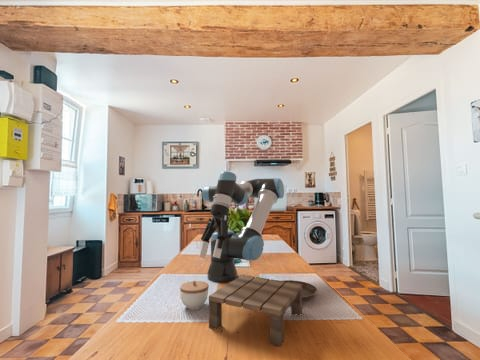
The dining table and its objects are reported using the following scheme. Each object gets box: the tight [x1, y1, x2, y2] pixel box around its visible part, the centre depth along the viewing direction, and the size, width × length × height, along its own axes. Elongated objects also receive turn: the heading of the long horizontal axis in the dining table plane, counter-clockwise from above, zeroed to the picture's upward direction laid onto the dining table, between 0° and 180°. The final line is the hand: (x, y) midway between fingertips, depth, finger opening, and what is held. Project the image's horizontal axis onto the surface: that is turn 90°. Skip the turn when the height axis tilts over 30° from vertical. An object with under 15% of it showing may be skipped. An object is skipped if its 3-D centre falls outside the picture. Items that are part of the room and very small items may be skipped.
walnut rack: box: [208, 274, 303, 347], centre depth 92 cm, size 24×24×10 cm
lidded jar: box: [179, 280, 209, 310], centre depth 103 cm, size 11×11×9 cm
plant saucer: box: [283, 279, 318, 303], centre depth 113 cm, size 21×21×3 cm
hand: (208, 257), depth 105 cm, fingers open, 13 cm apart
